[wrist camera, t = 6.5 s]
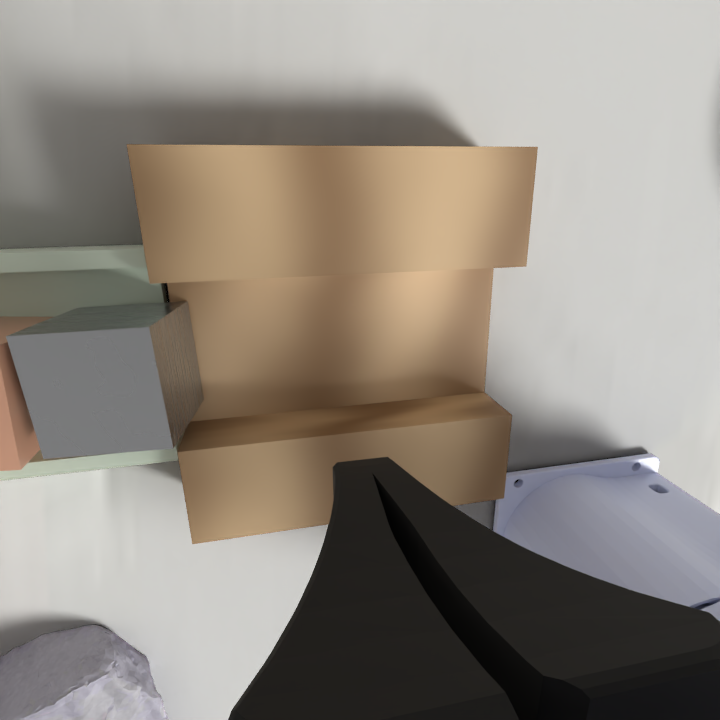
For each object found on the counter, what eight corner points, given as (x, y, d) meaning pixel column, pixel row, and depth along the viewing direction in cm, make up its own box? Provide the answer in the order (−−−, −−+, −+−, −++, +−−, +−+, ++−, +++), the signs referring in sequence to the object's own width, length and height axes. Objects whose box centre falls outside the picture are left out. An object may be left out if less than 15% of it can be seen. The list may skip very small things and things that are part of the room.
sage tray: (158, 243, 17) (143, 248, 15) (187, 433, 20) (178, 460, 18) (-124, 252, 16) (-186, 259, 13) (-53, 458, 18) (-95, 491, 16)
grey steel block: (187, 301, 17) (148, 327, 13) (204, 398, 18) (173, 448, 14) (77, 307, 17) (5, 336, 13) (101, 406, 18) (43, 459, 14)
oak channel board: (489, 158, 19) (537, 147, 15) (470, 457, 23) (504, 498, 20) (154, 157, 16) (126, 144, 13) (203, 491, 21) (192, 543, 17)
